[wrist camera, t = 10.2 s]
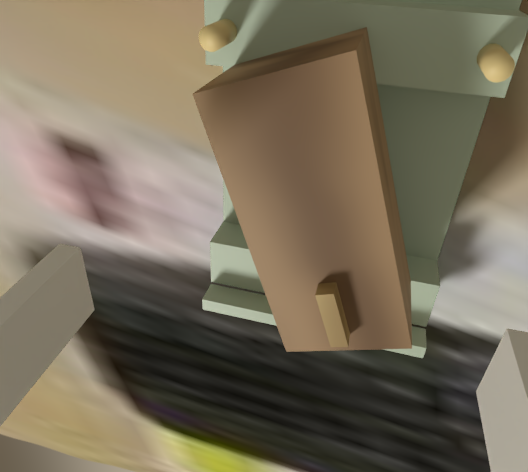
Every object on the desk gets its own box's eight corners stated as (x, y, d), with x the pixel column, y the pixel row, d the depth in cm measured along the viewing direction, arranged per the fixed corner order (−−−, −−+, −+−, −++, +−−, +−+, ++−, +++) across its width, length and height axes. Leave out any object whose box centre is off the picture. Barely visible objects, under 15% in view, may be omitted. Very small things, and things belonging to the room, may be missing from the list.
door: (304, 289, 26) (282, 363, 22) (234, 64, 20) (183, 100, 16) (410, 280, 24) (412, 362, 19) (366, 27, 18) (353, 54, 14)
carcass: (226, 271, 31) (199, 320, 27) (226, -52, 21) (183, -51, 17) (418, 311, 29) (420, 371, 25) (528, -33, 18) (564, -27, 14)
